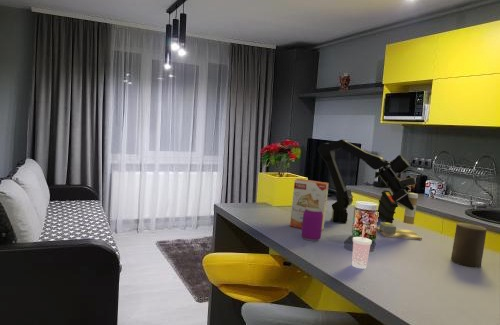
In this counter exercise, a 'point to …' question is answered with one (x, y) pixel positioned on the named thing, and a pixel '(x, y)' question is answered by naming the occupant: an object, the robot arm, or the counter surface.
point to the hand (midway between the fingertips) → (413, 208)
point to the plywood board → (401, 234)
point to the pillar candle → (468, 245)
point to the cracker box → (308, 199)
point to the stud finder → (387, 227)
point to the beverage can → (312, 224)
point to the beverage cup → (360, 251)
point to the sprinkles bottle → (410, 213)
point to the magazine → (387, 207)
